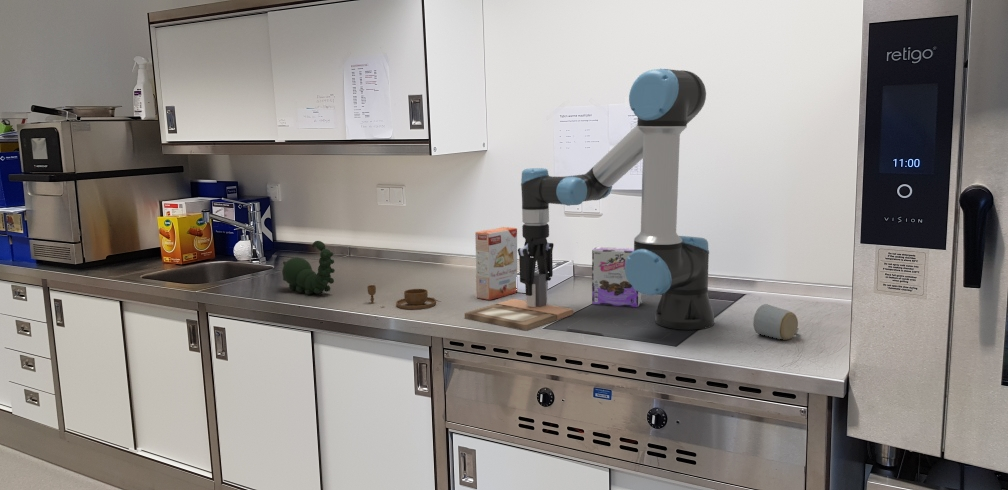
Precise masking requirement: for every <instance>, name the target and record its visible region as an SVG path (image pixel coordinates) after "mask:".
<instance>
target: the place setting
mask: <svg viewBox="0 0 1008 490" xmlns="http://www.w3.org/2000/svg"><path fill="white" fill-rule="evenodd" d="M376 287H377V286H376V285H375V284H369V285H367V294H368V295H370V301H371V302H370V304H372V305H373V304H375V302H374V301H375V298H374V295H376V292H377V288H376ZM428 294H429V293H428V289H425V288H411V289H407V290H405V291H404V292H403V295H404V298H401V299H399V300H396V302H395V304H396V306H397V308H399V309H402V310H408V311H409V310H410V311H411V310H412V311H413V310H414V311H415V310H423V309H424V310H426V309H430V308H432V307H434V306H436V304H437V302H439V303H441V302H442V301H440V300H438V299H436V297H435V298H434V297H429V296H428ZM427 302H428V303H427ZM405 303H406V304H407V305H404V304H405ZM425 303H427V304H425ZM384 308H385V306H381V309H384Z"/></svg>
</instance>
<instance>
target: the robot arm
mask: <svg viewBox="0 0 1008 490" xmlns="http://www.w3.org/2000/svg"><path fill="white" fill-rule="evenodd" d="M628 95H629V96H628V103H629V108H630V110H631V111H632V112H633V114H634V115H635V116H636V118H637V121H636V122H637V124H636V125H635V126H634V127H633V128H632V129H631V130H630V131H629V132H628V133H627V134H626V135H625V136H624V137H623V138H621V140H620V141H619V142H617V143H616V145H614V146H613V147H612V148H611V149H610V150H609V151H608V152H607V153H606V154H605V155H604V156H603V157H602V158H601V159H600V160H599V161H598V162H596V164H595V165H594V166H592V167H591V168H590V169H589V170H588V171H587V172H586V173H584V174H575V175H567V176H566V175H565V176H553V175H552V176H551V175H549V170H548V168H543V167H541V168H540V167H539V168H538V167H537V168H524V169H523V170H522V171H521V179H520V180H521V181H520V182H521V183H520V186H521V189H520V190H521V215H522V221H521V223H523V224H522V227H521V228H522V229H521V231H522V233H521V234H522V238H523V239H524V244H523V245H524V246H523V247H521V248H520V247H519V248H517V255H518V257H519V261H518V262H519V282H520V283H522V284H525V285H524V286H525V299H526V301H527V306H530V307H536V294H535V284H533V281H534V273H536V266H537V269H538V273H540V274H546V304H548V288H549V287H548V285H549V283H548V281H551V279H552V278H553V276H554V275H553V273H554V271H553V269H554V267H553V265H554V264H553V250H554V245H555V244H554V243H553V242H548V239H547V238H549V237H550V225H549V224H548V223H549V222H550V211H549V210H550V207H549V205H550V204H551V205H552V204H554V205H561V206H562V205H564V206H569V207H570V206H579V205H581V204H583V202H588V201H589V202H590V201H591V202H592V201H599V200H602V199H605V198H607V197H609V195H610V193H611V192H612V190H613V186H614V185H615V184H616V183H617V182H618V181H619V180H620V179H621V178H623V177H624V176H625V175H626V174H628V172H630V170H632V169H633V168H634V167H635V166H636V165H637V164H638V163H640V161H641V160H642V170H641V172H642V174H641V175H642V177H641V206H640V207H641V208H640V209H641V210H640V213H641V215H640V232H639V233H638V234H637V235H636V236H635V237H634V238H633V248H634V251H633V252H632V253H631V254H630V255H629V256H628V257H627V259H626V262H625V274H626V277H627V280H628V282H629V283H630V284H631V285H632V286H633V288H634V289H635V290H636V291H638V292H639V293H641V295H645V296H657V295H661V297H660V299H659V303H658V304H657V308H656V311H655V319H654V321H655V323H656V324H657V325H659V326H660V327H663V328H667V329H675V330H686V331H687V330H693V331H694V330H701V329H707V328H711V327H713V326H714V325H715V314H714V310H713V307H712V303H711V300H710V298H709V291H708V290H709V258H710V256H709V255H710V249H709V241H708V240H707V239H706V238H703V237H699V236H688V235H685V236H684V235H678V233H677V224H678V223H677V222H678V221H677V219H678V198H679V197H678V195H679V193H678V192H679V169H680V168H679V167H680V165H679V164H680V163H679V162H680V146H681V145H680V140H681V138H680V137H681V134H682V133H683V132H684V131H685V130H686V129H687V125H688V123H690V122H692V120H693V119H694V118H695V117H697V115H698V114H699V113H700V112H701V110H702V109H703V107H704V105H705V102H706V99H707V89H706V86H705V83H704V82H703V80H702V79H701V78H700V77H699V76H698V75H697V74H696V73H694V72H692V71H689V70H684V69H683V70H678V69H670V68H658V69H655V68H654V69H649V70H646V71H645V72H642V73H641V74H640V75H639V76H638V77H637V78H636V79H635V81H633V83H632V85H631V87H630V89H629V94H628ZM536 264H537V265H536ZM529 279H530V280H529Z"/></svg>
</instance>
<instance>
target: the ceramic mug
mask: <svg viewBox="0 0 1008 490" xmlns="http://www.w3.org/2000/svg"><path fill="white" fill-rule="evenodd" d="M752 324H753V329H754V332H755V333H756V334H757V335H760V334H761V336H764V335H765V336H764V337H768V336H769V338H772V337H773V339H776V338H777V340H780V339H783V340H782V341H788V340H790V339H792V338H793V337H794V336H795V335H797V334H798V332H799V327H798V326H799V325H798V324H799V321H798V317H797V315H796V313H794V312H792V311H790V310H787V309H784V308H781V307H778V306H774V305H771V304H768V303H764V304H761V305H760V306H759V307H758V308H757V309H756V312H755V313H754V317H753V322H752ZM787 339H788V340H787Z"/></svg>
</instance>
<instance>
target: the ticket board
mask: <svg viewBox="0 0 1008 490" xmlns="http://www.w3.org/2000/svg"><path fill="white" fill-rule="evenodd" d="M464 319H467V320H472V321H477V322H482V323H487V324H491V325H496V326H502V327H507V328H512V329H517V330H520V329H521V331H526V330H527V331H529V329H530V330H533V329H535V328H537V327H540V326H543V325H546V324H549V323H552V322H555V321H557V320H556V315H555V314H549V313H543V312H539V311H533V310H527V309H521V308H516V307H511V306H505V305H499V304H497V303H494V304H491V305H487V306H483V307H480V308H477V309H474V310H471V311H467V312H464Z"/></svg>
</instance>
